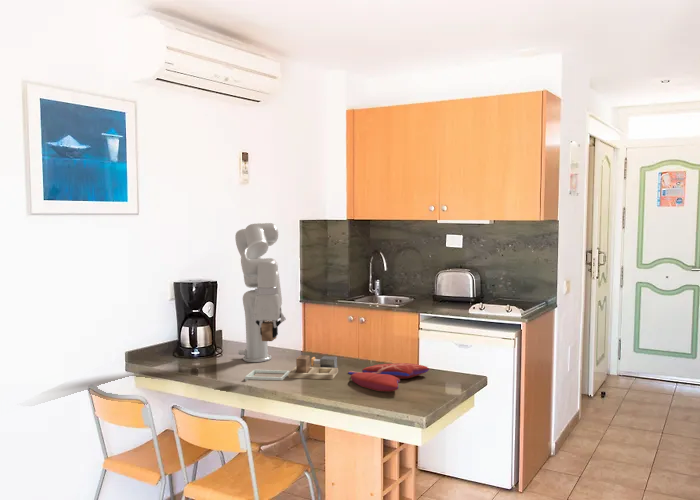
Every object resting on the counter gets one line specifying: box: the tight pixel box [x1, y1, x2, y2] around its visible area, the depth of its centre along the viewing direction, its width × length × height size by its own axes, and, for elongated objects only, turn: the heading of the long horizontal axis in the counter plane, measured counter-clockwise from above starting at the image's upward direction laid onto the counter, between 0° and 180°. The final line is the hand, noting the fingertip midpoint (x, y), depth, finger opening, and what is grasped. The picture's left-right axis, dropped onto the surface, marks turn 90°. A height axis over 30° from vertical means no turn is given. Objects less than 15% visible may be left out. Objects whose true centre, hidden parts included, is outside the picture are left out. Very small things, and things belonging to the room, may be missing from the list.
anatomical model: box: [347, 362, 430, 392], centre depth 237 cm, size 30×7×30 cm
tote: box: [244, 369, 290, 382], centre depth 243 cm, size 15×10×2 cm
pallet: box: [287, 366, 339, 380], centre depth 244 cm, size 18×11×3 cm, turn 79°
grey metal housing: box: [319, 355, 338, 368], centre depth 253 cm, size 6×5×6 cm
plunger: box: [310, 356, 321, 367], centre depth 253 cm, size 5×4×3 cm
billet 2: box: [295, 354, 311, 373], centre depth 244 cm, size 4×6×7 cm, turn 169°
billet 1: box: [261, 321, 277, 342], centre depth 242 cm, size 4×6×7 cm, turn 168°
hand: (269, 336), depth 242 cm, fingers closed on billet 1, 4 cm apart
